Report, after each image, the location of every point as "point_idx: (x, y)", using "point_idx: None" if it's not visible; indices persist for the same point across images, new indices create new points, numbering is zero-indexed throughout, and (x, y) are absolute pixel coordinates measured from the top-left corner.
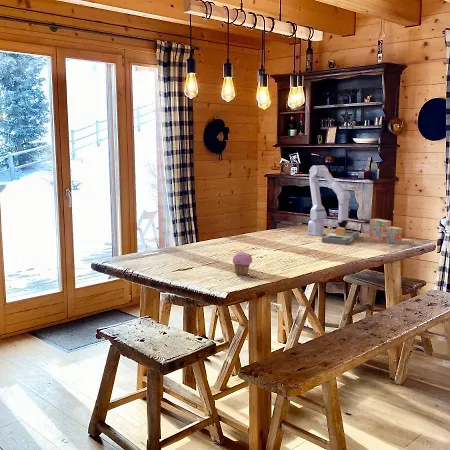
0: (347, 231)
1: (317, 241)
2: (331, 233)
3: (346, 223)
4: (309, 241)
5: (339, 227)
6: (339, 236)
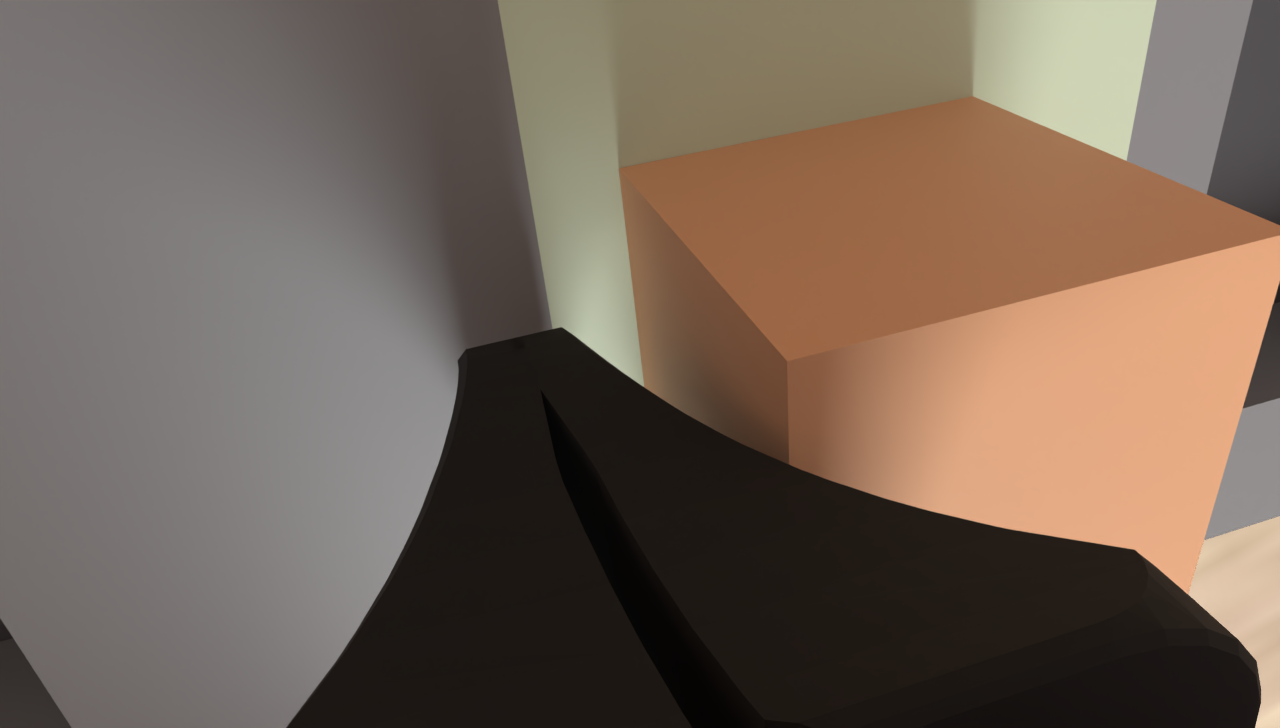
0: None
1: None
2: None
3: (801, 636)
4: (1264, 601)
5: None
6: None
